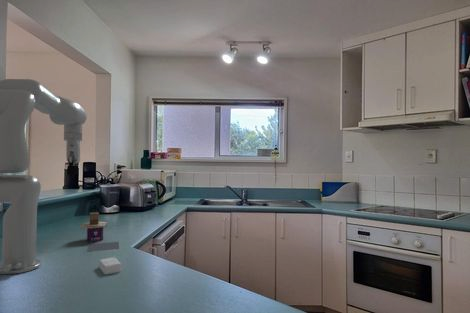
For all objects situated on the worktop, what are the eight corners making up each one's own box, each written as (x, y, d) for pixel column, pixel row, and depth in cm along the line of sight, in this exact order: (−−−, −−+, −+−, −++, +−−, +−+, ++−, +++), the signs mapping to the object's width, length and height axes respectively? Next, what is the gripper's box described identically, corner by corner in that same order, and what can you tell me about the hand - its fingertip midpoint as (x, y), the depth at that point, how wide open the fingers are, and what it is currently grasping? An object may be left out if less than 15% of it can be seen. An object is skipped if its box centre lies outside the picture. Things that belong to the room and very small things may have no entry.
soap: (122, 272, 104) (122, 263, 104) (104, 275, 100) (104, 266, 100) (115, 264, 111) (115, 256, 111) (98, 267, 108) (98, 259, 108)
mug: (87, 243, 138) (87, 228, 138) (86, 238, 147) (86, 224, 147) (103, 242, 141) (103, 226, 141) (101, 237, 150) (102, 223, 150)
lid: (106, 227, 141) (106, 214, 141) (79, 229, 137) (79, 215, 137) (107, 222, 151) (107, 210, 151) (82, 224, 147) (82, 211, 147)
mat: (119, 249, 129) (119, 248, 129) (87, 252, 125) (87, 251, 125) (118, 242, 140) (118, 241, 140) (89, 244, 136) (89, 244, 136)
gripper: (80, 136, 138) (79, 175, 138) (83, 138, 154) (83, 173, 154) (61, 135, 135) (60, 175, 135) (66, 138, 151) (65, 173, 151)
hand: (72, 174), depth 145 cm, fingers open, 9 cm apart
